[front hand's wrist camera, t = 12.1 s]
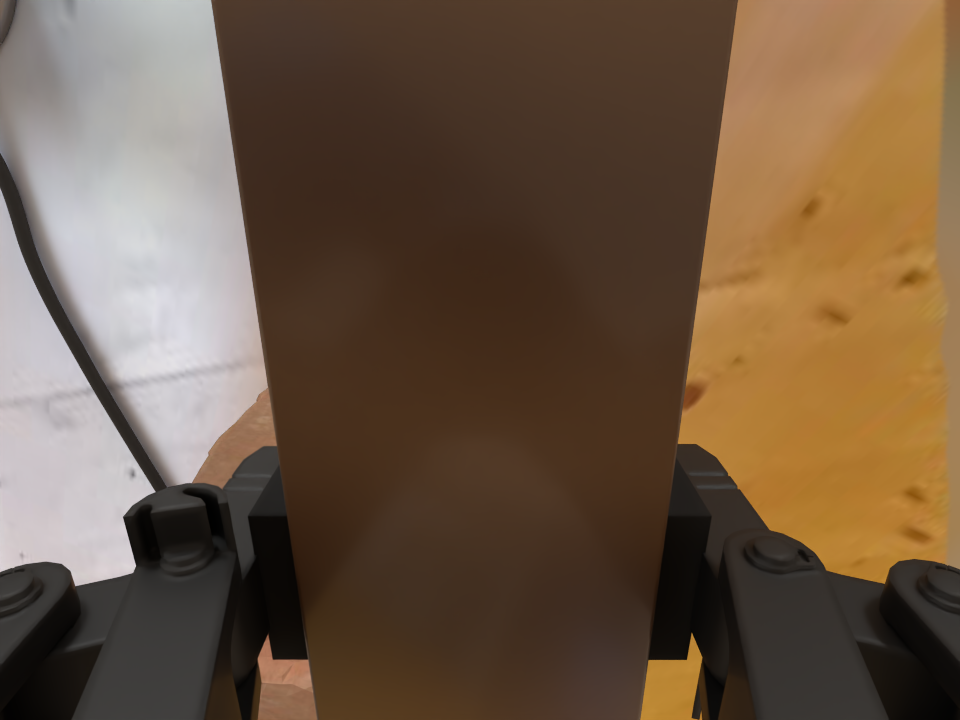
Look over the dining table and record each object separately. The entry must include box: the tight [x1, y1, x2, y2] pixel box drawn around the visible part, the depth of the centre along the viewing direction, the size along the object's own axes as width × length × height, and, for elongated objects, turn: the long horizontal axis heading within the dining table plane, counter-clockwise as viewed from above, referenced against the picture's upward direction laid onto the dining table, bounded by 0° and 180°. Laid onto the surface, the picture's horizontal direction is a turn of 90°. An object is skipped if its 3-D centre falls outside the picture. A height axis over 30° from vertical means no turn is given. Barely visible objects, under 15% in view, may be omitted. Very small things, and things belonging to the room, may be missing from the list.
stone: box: [192, 388, 317, 720], centre depth 40 cm, size 22×11×28 cm, turn 170°
